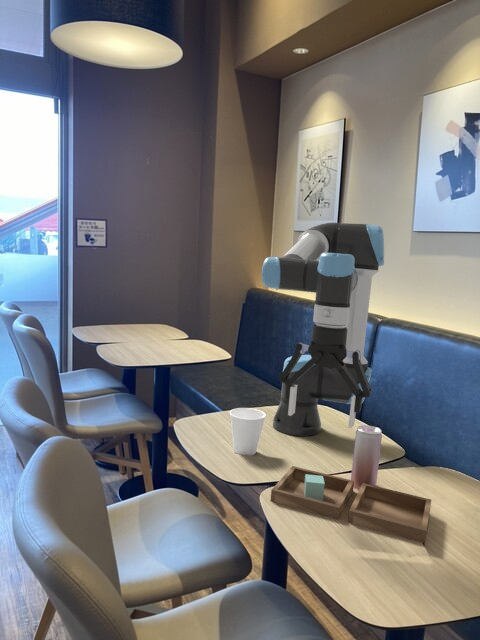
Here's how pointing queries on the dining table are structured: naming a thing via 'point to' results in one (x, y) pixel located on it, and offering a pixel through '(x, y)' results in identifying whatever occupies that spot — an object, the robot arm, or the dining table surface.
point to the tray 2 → (391, 512)
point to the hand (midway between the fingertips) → (320, 420)
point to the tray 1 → (293, 495)
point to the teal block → (314, 487)
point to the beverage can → (366, 456)
